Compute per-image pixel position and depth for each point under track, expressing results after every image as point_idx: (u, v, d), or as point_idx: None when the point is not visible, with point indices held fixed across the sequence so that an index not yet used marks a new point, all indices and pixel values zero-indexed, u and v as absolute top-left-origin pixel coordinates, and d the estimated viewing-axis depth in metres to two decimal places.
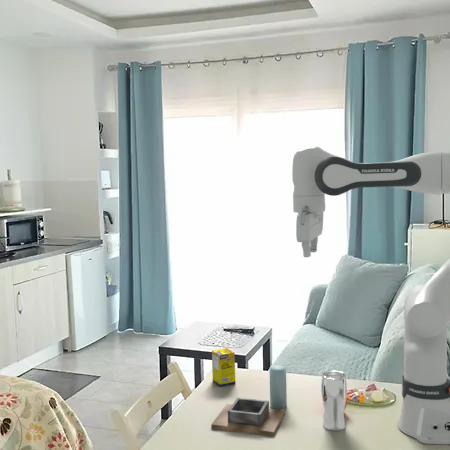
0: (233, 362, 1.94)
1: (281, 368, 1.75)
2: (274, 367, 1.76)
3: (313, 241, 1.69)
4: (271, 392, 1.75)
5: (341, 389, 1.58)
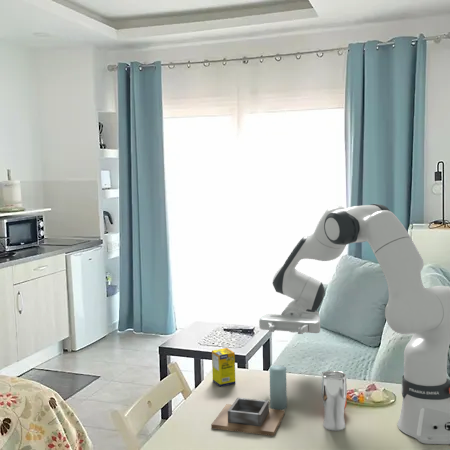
0: (233, 362, 1.94)
1: (281, 368, 1.75)
2: (274, 367, 1.76)
3: None
4: (271, 392, 1.75)
5: (341, 389, 1.58)
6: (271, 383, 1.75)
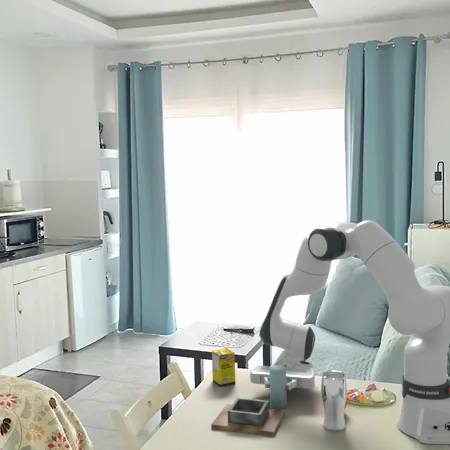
0: (233, 362, 1.94)
1: (281, 368, 1.75)
2: (274, 367, 1.76)
3: None
4: (271, 392, 1.75)
5: (341, 389, 1.58)
6: (271, 383, 1.75)
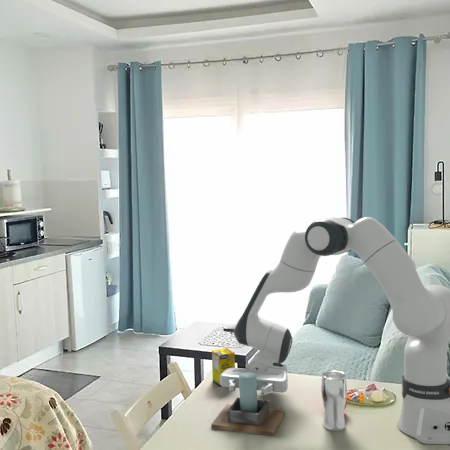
0: (233, 362, 1.94)
1: (251, 376, 1.65)
2: (244, 374, 1.66)
3: None
4: (241, 401, 1.65)
5: (341, 389, 1.58)
6: (240, 392, 1.65)
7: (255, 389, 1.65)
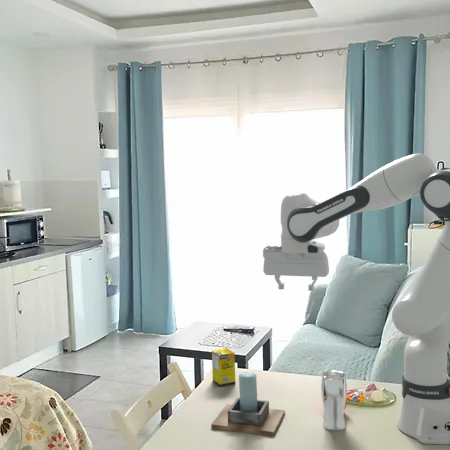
0: (233, 362, 1.94)
1: (251, 376, 1.65)
2: (244, 374, 1.67)
3: None
4: (241, 401, 1.66)
5: (341, 389, 1.58)
6: (240, 391, 1.65)
7: (255, 389, 1.65)
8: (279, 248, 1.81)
